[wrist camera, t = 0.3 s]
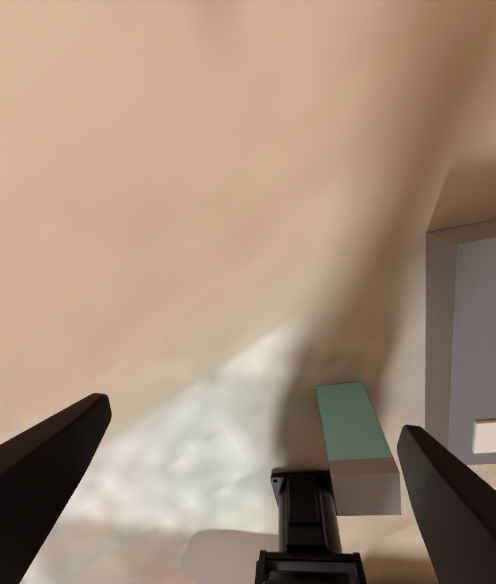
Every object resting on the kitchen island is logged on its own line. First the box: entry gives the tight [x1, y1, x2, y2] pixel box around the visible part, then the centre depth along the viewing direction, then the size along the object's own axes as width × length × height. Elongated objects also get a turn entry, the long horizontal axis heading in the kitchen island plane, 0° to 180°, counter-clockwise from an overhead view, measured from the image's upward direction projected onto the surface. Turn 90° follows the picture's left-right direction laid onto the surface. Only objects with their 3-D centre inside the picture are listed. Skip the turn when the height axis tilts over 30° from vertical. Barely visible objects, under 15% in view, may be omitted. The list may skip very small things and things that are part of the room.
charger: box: [316, 382, 401, 516], centre depth 21 cm, size 4×4×8 cm
